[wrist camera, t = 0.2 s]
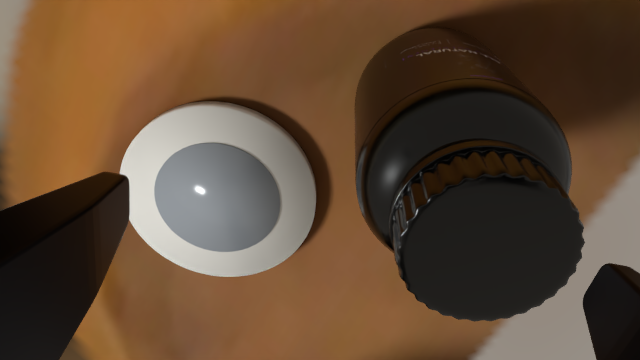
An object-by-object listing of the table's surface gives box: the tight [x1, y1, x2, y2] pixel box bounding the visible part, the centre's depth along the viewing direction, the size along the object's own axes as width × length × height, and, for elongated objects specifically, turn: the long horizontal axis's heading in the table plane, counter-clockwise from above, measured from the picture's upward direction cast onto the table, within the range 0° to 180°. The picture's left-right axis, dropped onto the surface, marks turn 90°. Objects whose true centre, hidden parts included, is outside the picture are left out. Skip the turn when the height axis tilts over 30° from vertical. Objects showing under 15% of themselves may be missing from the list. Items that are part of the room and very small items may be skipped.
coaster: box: [120, 101, 316, 277], centre depth 26 cm, size 10×10×1 cm
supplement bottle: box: [355, 27, 585, 321], centre depth 18 cm, size 7×7×12 cm
